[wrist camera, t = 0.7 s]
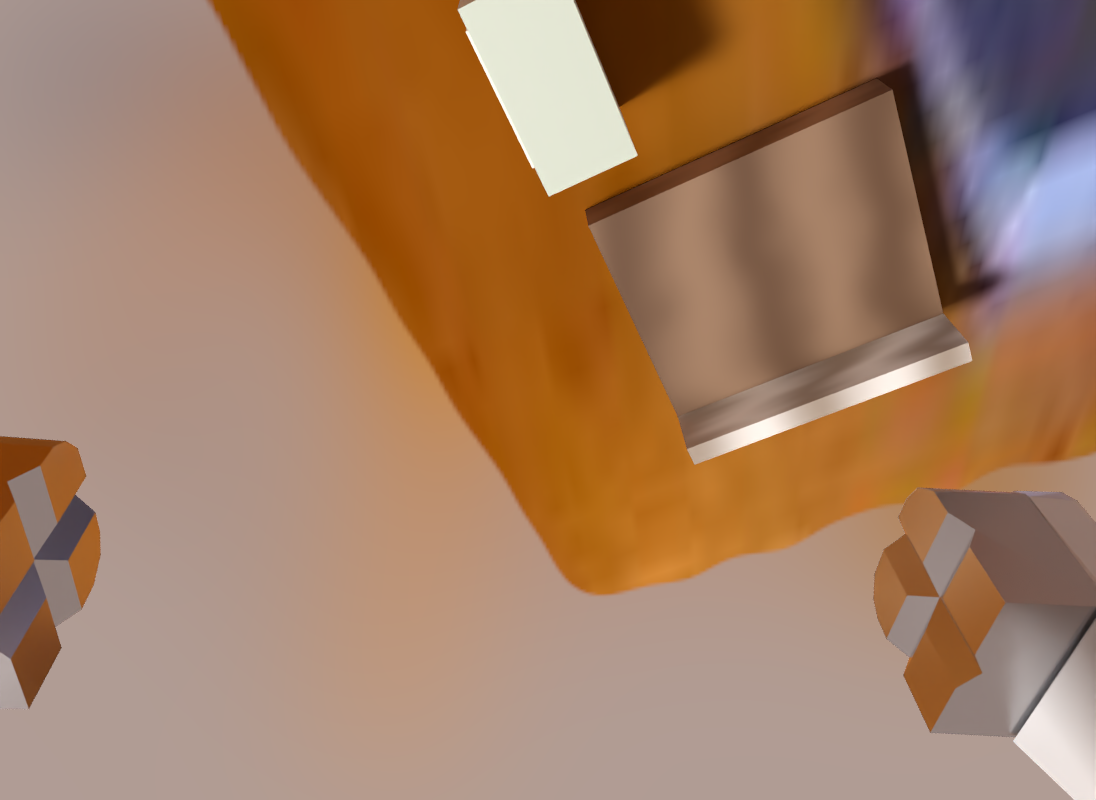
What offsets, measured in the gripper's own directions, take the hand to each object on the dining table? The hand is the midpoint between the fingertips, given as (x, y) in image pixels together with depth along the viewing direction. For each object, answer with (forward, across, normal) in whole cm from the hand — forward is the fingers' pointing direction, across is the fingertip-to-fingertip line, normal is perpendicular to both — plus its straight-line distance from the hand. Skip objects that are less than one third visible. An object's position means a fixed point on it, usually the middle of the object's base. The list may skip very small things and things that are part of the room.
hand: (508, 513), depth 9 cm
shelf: (+35, -15, +13) cm, 40 cm away
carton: (+35, -2, +3) cm, 35 cm away
